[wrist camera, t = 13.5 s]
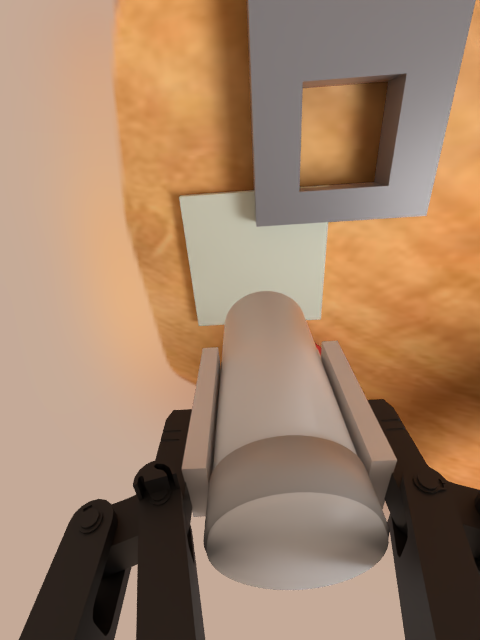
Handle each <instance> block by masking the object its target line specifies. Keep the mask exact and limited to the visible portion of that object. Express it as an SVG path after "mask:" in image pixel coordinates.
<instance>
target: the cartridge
mask: <svg viewBox="0 0 480 640" xmlns="http://www.w3.org/2000/svg"><path fill="white" fill-rule="evenodd" d="M388 537H389V527H388V524H387V521H386V518H385V516H384V513H383V511H382V508H381V506H380V503H379V501H378V498H377V495H376V493H375V490H374V488H373V485H372V483H371V480H370V478H369V475H368V472H367V470H366V467H365V465H364V464H363V462H362V461H361V459H360V458H359V457H358V456H357V453H356V450H355V448H354V445H353V442H352V440H351V437H350V435H349V432H348V429H347V427H346V424H345V421H344V419H343V416H342V414H341V411H340V408H339V406H338V403H337V400H336V398H335V395H334V393H333V390H332V387H331V385H330V382H329V379H328V377H327V374H326V372H325V369H324V366H323V364H322V361H321V358H320V356H319V353H318V351H317V348H316V345H315V343H314V340H313V337H312V335H311V332H310V330H309V327H308V324H307V322H306V319H305V316H304V314H303V311H302V310H301V308H300V306H299V305H298V304H297V303H296V302H295V301H294V300H293V299H291V298H290V297H288V296H286V295H284V294H282V293H278V292H274V291H259V292H255V293H251V294H249V295H246V296H244V297H243V298H241V299H240V300H238V301H237V302H236V303H235V304H234V305H233V306H232V307H231V309H230V310H229V312H228V314H227V316H226V319H225V325H224V338H223V350H222V362H221V375H220V387H219V400H218V412H217V425H216V437H215V449H214V462H213V472H212V474H211V476H210V479H209V486H208V497H207V508H206V520H205V531H204V548H205V550H206V553H207V556H208V559H209V561H210V562H211V564H212V565H213V566H214V567H215V569H217V570H218V571H219V572H220V573H222V574H223V575H225V576H226V577H228V578H230V579H232V580H235V581H237V582H240V583H243V584H246V585H250V586H254V587H259V588H265V589H273V590H303V589H312V588H319V587H325V586H329V585H333V584H337V583H340V582H343V581H346V580H349V579H352V578H354V577H356V576H358V575H360V574H362V573H364V572H366V571H367V570H369V569H370V568H372V567H373V566H374V565H375V564H376V563H378V562H379V561H380V560H381V558H382V557H383V556H384V554H385V552H386V550H387V547H388Z"/></svg>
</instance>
